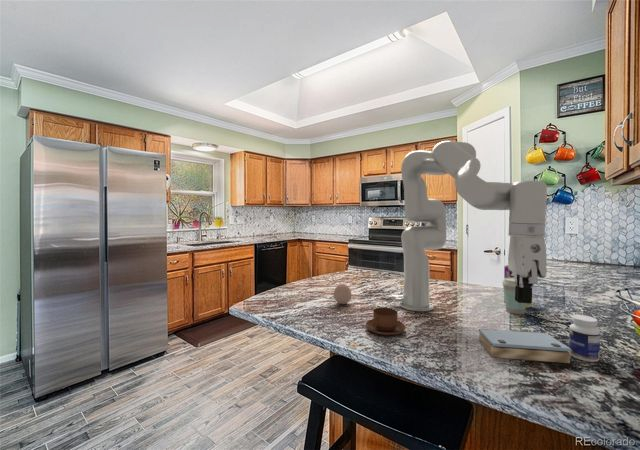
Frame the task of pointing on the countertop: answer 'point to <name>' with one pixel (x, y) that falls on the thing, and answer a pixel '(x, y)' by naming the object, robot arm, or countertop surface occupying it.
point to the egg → (342, 294)
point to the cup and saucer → (385, 322)
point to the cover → (523, 340)
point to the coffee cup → (512, 297)
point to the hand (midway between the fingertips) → (523, 302)
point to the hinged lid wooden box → (525, 352)
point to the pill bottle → (584, 338)
